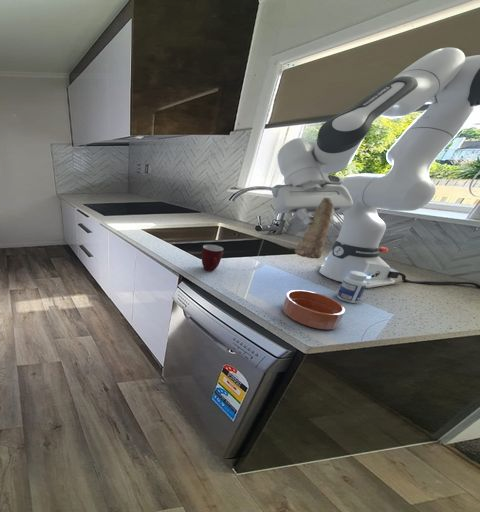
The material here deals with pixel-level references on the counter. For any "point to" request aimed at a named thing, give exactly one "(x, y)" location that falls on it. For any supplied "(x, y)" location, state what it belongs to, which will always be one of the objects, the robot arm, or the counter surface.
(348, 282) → the pill bottle
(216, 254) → the mug
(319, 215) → the brown tapered cone
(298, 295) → the bowl
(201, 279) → the counter surface
